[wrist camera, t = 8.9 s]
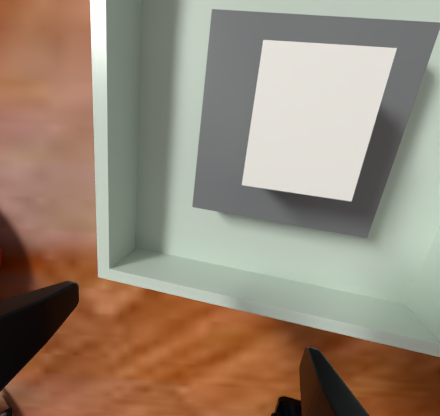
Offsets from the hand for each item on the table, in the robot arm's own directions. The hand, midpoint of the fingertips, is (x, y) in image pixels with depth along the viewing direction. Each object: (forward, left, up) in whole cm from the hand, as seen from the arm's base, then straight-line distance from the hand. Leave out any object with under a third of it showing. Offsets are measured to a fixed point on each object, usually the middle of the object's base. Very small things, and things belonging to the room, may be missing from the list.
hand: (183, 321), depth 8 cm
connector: (-4, -8, -12) cm, 14 cm away
